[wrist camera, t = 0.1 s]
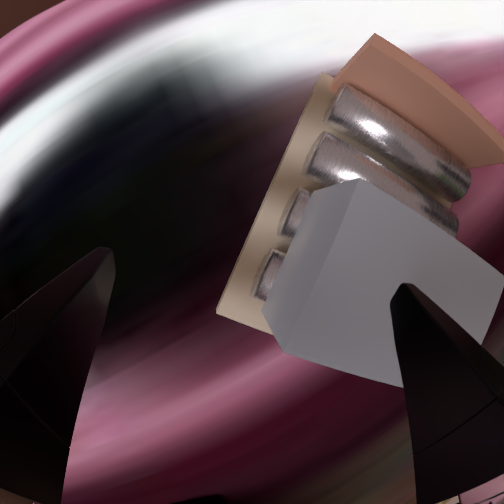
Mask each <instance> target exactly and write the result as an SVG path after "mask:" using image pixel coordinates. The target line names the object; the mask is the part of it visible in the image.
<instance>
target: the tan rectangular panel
mask: <svg viewBox="0 0 504 504" xmlns="http://www.w3.org/2000/svg"><path fill="white" fill-rule="evenodd" d="M343 83H346V84H348V85H350V86H352V87H353V88H355V89H357V90H359V91H360V92H362V93H364V94H365V95H367V96H369V97H370V98H372V99H374V100H375V101H377V102H378V103H380V104H382V105H383V106H385V107H386V108H388V109H389V110H391V111H392V112H394V113H395V114H397V115H398V116H400V117H401V118H403V119H404V120H406V121H407V122H409V123H410V124H411V125H413V126H414V127H416V128H417V129H418V130H420V131H421V132H422V133H424V134H425V135H426V136H428V137H429V138H430V139H432V140H433V141H434V142H436V143H437V144H438V145H440V146H441V147H442V148H443V149H445V150H446V151H447V152H448V153H450V154H451V155H452V156H453V157H454V158H456V159H457V160H458V161H459V162H460V163H462V164H463V165H464V166H465V167H466V168H467V169H469V168H475V167H481V166H487V165H493V164H499V163H504V137H503V136H502V135H501V134H500V133H499V132H498V131H497V130H496V129H495V128H494V127H493V126H492V125H491V124H490V123H489V122H488V121H487V120H486V119H485V118H484V117H483V116H482V115H481V114H480V113H479V112H478V111H477V110H476V109H475V108H474V107H473V106H472V105H471V104H469V103H468V102H467V101H466V100H465V99H464V98H463V97H462V96H461V95H459V94H458V93H457V92H456V91H455V90H454V89H452V88H451V87H450V86H449V85H448V84H446V83H445V82H444V81H443V80H441V79H440V78H439V77H438V76H436V75H435V74H434V73H433V72H431V71H430V70H429V69H427V68H426V67H425V66H423V65H422V64H421V63H419V62H418V61H417V60H415V59H414V58H412V57H411V56H409V55H408V54H407V53H405V52H404V51H402V50H401V49H399V48H398V47H396V46H395V45H393V44H392V43H390V42H389V41H387V40H385V39H384V38H382V37H381V36H379V35H377V34H376V33H374V34H373V35H372V36H371V37H370V38H369V40H368V41H367V42H366V43H365V44H364V45H363V46H362V47H361V48H360V49H359V50H358V52H357V53H356V54H355V55H354V56H353V57H352V58H351V59H350V60H349V61H348V63H347V64H346V65H345V66H344V67H343V68H342V69H341V70H340V72H339V73H338V74H337V75H336V76H335V77H334V78H333V80H332V82H331V85H330V87H329V90H330V91H332V92H334V93H336V91H337V90H338V89H339V87H340V86H341V85H342V84H343Z"/></svg>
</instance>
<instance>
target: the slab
mask: <svg viewBox="0 0 504 504" xmlns="http://www.w3.org/2000/svg"><path fill="white" fill-rule="evenodd" d="M401 283H412V284H414V285H415V286H416V287H417V288H419V289H420V290H421V291H422V292H423V293H424V294H426V295H427V296H428V297H429V298H430V299H431V300H432V301H434V302H435V303H436V304H437V305H438V306H439V307H440V308H441V309H443V310H444V311H445V312H446V313H447V314H448V315H449V316H450V317H451V318H452V319H454V320H455V321H456V322H457V323H458V324H459V325H460V326H461V327H462V328H463V329H464V330H465V331H467V332H468V333H469V334H470V335H471V336H472V337H473V338H474V339H475V340H476V341H477V342H478V343H479V344H480V345H481V344H482V341H483V339H484V337H485V335H486V332H487V330H488V327H489V325H490V323H491V320H492V318H493V315H494V312H495V310H496V307H497V304H498V302H499V299H500V296H501V293H502V290H503V287H504V276H503V275H502V274H501V273H500V272H498V271H497V270H496V269H495V268H493V267H492V266H491V265H490V264H488V263H487V262H486V261H484V260H483V259H482V258H481V257H479V256H478V255H477V254H475V253H474V252H473V251H471V250H470V249H469V248H467V247H466V246H465V245H463V244H462V243H461V242H459V241H458V240H456V239H455V238H454V237H452V236H451V235H449V234H448V233H447V232H445V231H444V230H442V229H441V228H439V227H438V226H437V225H435V224H434V223H432V222H431V221H429V220H428V219H426V218H425V217H423V216H422V215H420V214H419V213H417V212H416V211H414V210H412V209H411V208H409V207H408V206H406V205H405V204H403V203H401V202H400V201H398V200H397V199H395V198H393V197H392V196H390V195H389V194H387V193H385V192H384V191H382V190H380V189H379V188H377V187H375V186H374V185H372V184H370V183H368V182H367V181H365V180H363V179H362V178H360V177H359V178H356V179H352V180H349V181H346V182H342V183H339V184H336V185H332V186H329V187H326V188H322V189H319V190H316V191H313V193H312V196H311V198H310V200H309V203H308V205H307V207H306V210H305V212H304V214H303V217H302V219H301V221H300V224H299V226H298V228H297V231H296V233H295V235H294V238H293V240H292V242H291V244H290V247H289V249H288V251H287V254H286V256H285V258H284V260H283V263H282V265H281V267H280V269H279V272H278V274H277V276H276V278H275V281H274V283H273V285H272V287H271V290H270V292H269V294H268V296H267V298H266V301H265V303H264V305H263V307H262V309H261V312H262V314H263V316H264V318H265V320H266V321H267V323H268V325H269V327H270V329H271V331H272V333H273V335H274V336H275V338H276V340H277V342H278V344H279V346H280V348H281V349H282V351H283V352H284V353H287V354H290V355H293V356H296V357H299V358H302V359H305V360H308V361H311V362H314V363H318V364H321V365H324V366H327V367H330V368H334V369H337V370H340V371H344V372H347V373H351V374H354V375H358V376H361V377H365V378H368V379H372V380H376V381H379V382H383V383H387V384H391V385H395V386H399V387H403V383H402V377H401V372H400V367H399V362H398V358H397V353H396V348H395V341H394V334H393V326H392V319H391V312H390V301H391V299H392V297H393V295H394V294H395V292H396V290H397V289H398V287H399V285H400V284H401Z"/></svg>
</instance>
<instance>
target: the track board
mask: <svg viewBox="0 0 504 504" xmlns="http://www.w3.org/2000/svg"><path fill="white" fill-rule="evenodd" d="M332 80H333V77H331V76H330V75H328V74H326V73H324V72H322V74H321V75H320V76H319V78H318V80H317V82H316V84H315V86H314V89H313V91H312V93H311V95H310V97H309V100H308V102H307V104H306V106H305V108H304V111H303V113H302V115H301V117H300V119H299V122H298V124H297V126H296V128H295V131H294V133H293V135H292V137H291V139H290V142H289V144H288V146H287V148H286V151H285V153H284V155H283V157H282V160H281V162H280V164H279V166H278V169H277V171H276V173H275V175H274V178H273V180H272V182H271V184H270V187H269V189H268V191H267V193H266V196H265V198H264V200H263V202H262V205H261V207H260V209H259V211H258V214H257V216H256V218H255V221H254V223H253V225H252V227H251V230H250V232H249V234H248V236H247V239H246V241H245V243H244V246H243V248H242V250H241V252H240V255H239V257H238V259H237V262H236V264H235V266H234V269H233V271H232V273H231V275H230V278H229V280H228V282H227V285H226V287H225V289H224V292H223V294H222V296H221V299H220V301H219V303H218V305H217V308H216V313H217V314H219V315H222V316H225V317H227V318H230V319H232V320H235V321H237V322H240V323H243V324H245V325H248V326H250V327H253V328H256V329H258V330H261V331H264V332H266V333H269V334H272V335H273V333H272V331H271V329H270V327H269V325H268V323H267V321H266V320H265V318H264V316H263V314H262V312H261V309H262V307H263V305H264V302H262V301H259V300H257V299H254V298H252V297H251V296H250V292H251V287H252V283H253V280H254V277H255V274H256V272H257V270H258V267H259V265H260V263H261V261H262V259H263V257H264V256H265V254H266V253H267V251H268V250H269V249H270V248H274V249H276V250H278V251H281V252H283V253H285V254H287V251H288V249H289V247H290V244H291V241H289V240H287V239H284V238H282V237H280V236H278V235H277V227H278V223H279V220H280V217H281V215H282V212H283V210H284V208H285V206H286V204H287V202H288V200H289V199H290V197H291V195H292V194H293V192H294V191H295V190H296V189H297V188H298V187H301V188H303V189H305V190H307V191H309V192H311V193H313V191H316V190H319V189H322V188H326V187H324V186H322V185H320V184H318V183H316V182H314V181H312V180H310V179H308V178H306V177H304V176H302V174H301V173H302V168H303V165H304V162H305V159H306V157H307V155H308V153H309V151H310V149H311V147H312V145H313V143H314V142H315V140H316V139H317V137H318V136H319V135H320V133H321V132H323V131H326V132H328V133H330V134H332V135H334V136H335V137H337V138H339V139H341V140H343V141H344V142H346V143H348V144H350V145H352V146H353V147H355V148H357V149H358V150H360V151H362V152H364V153H365V154H367V155H369V156H370V157H372V158H374V159H375V160H377V161H379V162H380V163H382V164H383V165H385V166H387V167H388V168H390V169H391V170H393V171H395V172H396V173H398V174H399V175H401V176H402V177H404V178H405V179H407V180H408V181H410V182H411V183H413V184H414V185H416V186H417V187H419V188H420V189H422V190H423V191H424V192H426V193H427V194H429V195H430V196H431V197H433V198H434V199H436V200H437V201H438V202H440V203H441V204H443V205H444V206H445V207H447V208H448V209H449V210H450V209H451V205H452V203H451V202H448V201H446V200H445V199H444V198H442V197H441V196H440V195H438V194H437V193H436V192H434V191H433V190H432V189H430V188H429V187H427V186H426V185H425V184H423V183H422V182H420V181H419V180H417V179H416V178H414V177H413V176H412V175H410V174H409V173H407V172H406V171H404V170H403V169H401V168H400V167H398V166H397V165H395V164H393V163H392V162H390V161H389V160H387V159H386V158H384V157H382V156H381V155H379V154H378V153H376V152H374V151H373V150H371V149H369V148H368V147H366V146H364V145H363V144H361V143H359V142H358V141H356V140H354V139H352V138H351V137H349V136H347V135H345V134H343V133H342V132H340V131H338V130H336V129H334V128H333V127H331V126H329V125H327V124H325V123H323V119H324V115H325V112H326V110H327V108H328V105H329V103H330V102H331V100H332V98H333V96H334V95H335V93H334V92H332V91H330V90H329V87H330V85H331V82H332Z"/></svg>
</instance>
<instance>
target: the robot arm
mask: <svg viewBox="0 0 504 504" xmlns="http://www.w3.org/2000/svg"><path fill="white" fill-rule="evenodd" d="M115 274H116V270H115V262H114V254H113V250H112V249H111V248H105V247H98V248H96V249H95V250H94V251H92V252H91V253H89V254H88V255H86V256H85V257H84V258H82V259H81V260H79V261H78V262H76V263H75V264H74V265H72V266H71V267H69V268H68V269H67V270H65V271H64V272H63V273H61V274H60V275H59V276H57V277H56V278H54V279H53V280H52V281H50V282H49V283H48V284H46V285H45V286H44V287H43V288H41V289H40V290H39V291H37V292H36V293H35V294H33V295H32V296H31V297H30V298H28V299H27V300H26V301H25V302H23V303H22V304H21V305H20V306H18V307H17V308H16V310H13V311H12V312H11V313H10V314H8V315H7V316H6V317H5V318H3V319H2V320H1V321H0V504H33V501H34V502H37V503H40V504H61V498H62V491H63V485H64V478H65V472H66V467H67V461H68V456H69V451H70V448H69V447H70V445H71V440H72V436H73V431H74V427H75V422H76V418H77V414H78V410H79V406H80V402H81V398H82V394H83V391H84V387H85V383H86V380H87V376H88V373H89V369H90V366H91V363H92V359H93V356H94V353H95V350H96V347H97V343H98V340H99V337H100V334H101V331H102V328H103V325H104V322H105V318H106V313H107V309H108V304H109V300H110V296H111V292H112V288H113V284H114V280H115ZM390 312H391V319H392V326H393V334H394V341H395V348H396V353H397V358H398V362H399V367H400V372H401V377H402V383H403V388H404V394H405V400H406V406H407V412H408V418H409V425H410V433H411V440H412V449H413V455H414V456H413V459H414V470H415V482H416V498H417V504H436V503H439V502H441V501H444V500H447V499H449V498H452V497H455V496H457V495H458V497H459V503H457V504H504V367H503V366H502V365H501V364H500V363H499V362H498V361H497V360H496V359H495V358H494V357H493V356H492V355H491V354H489V353H488V352H487V351H486V350H485V349H484V348H483V347H482V346H481V345H480V344H479V343H478V342H477V341H476V340H475V339H474V338H473V337H472V336H471V335H470V334H469V333H468V332H467V331H465V330H464V329H463V328H462V327H461V326H460V325H459V324H458V323H457V322H456V321H455V320H454V319H452V318H451V317H450V316H449V315H448V314H447V313H446V312H445V311H444V310H443V309H441V308H440V307H439V306H438V305H437V304H436V303H435V302H434V301H432V300H431V299H430V298H429V297H428V296H427V295H426V294H424V293H423V292H422V291H421V290H420V289H419V288H417V287H416V286H415V285H414V284H412V283H401V284H400V285H399V287H398V289H397V290H396V292H395V294H394V295H393V297H392V299H391V301H390ZM175 504H226V503H225V502H224V501H223V499H222V498H221V497H220V496H211V497H207V498H202V499H197V500H192V501H187V502H181V503H175Z"/></svg>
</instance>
